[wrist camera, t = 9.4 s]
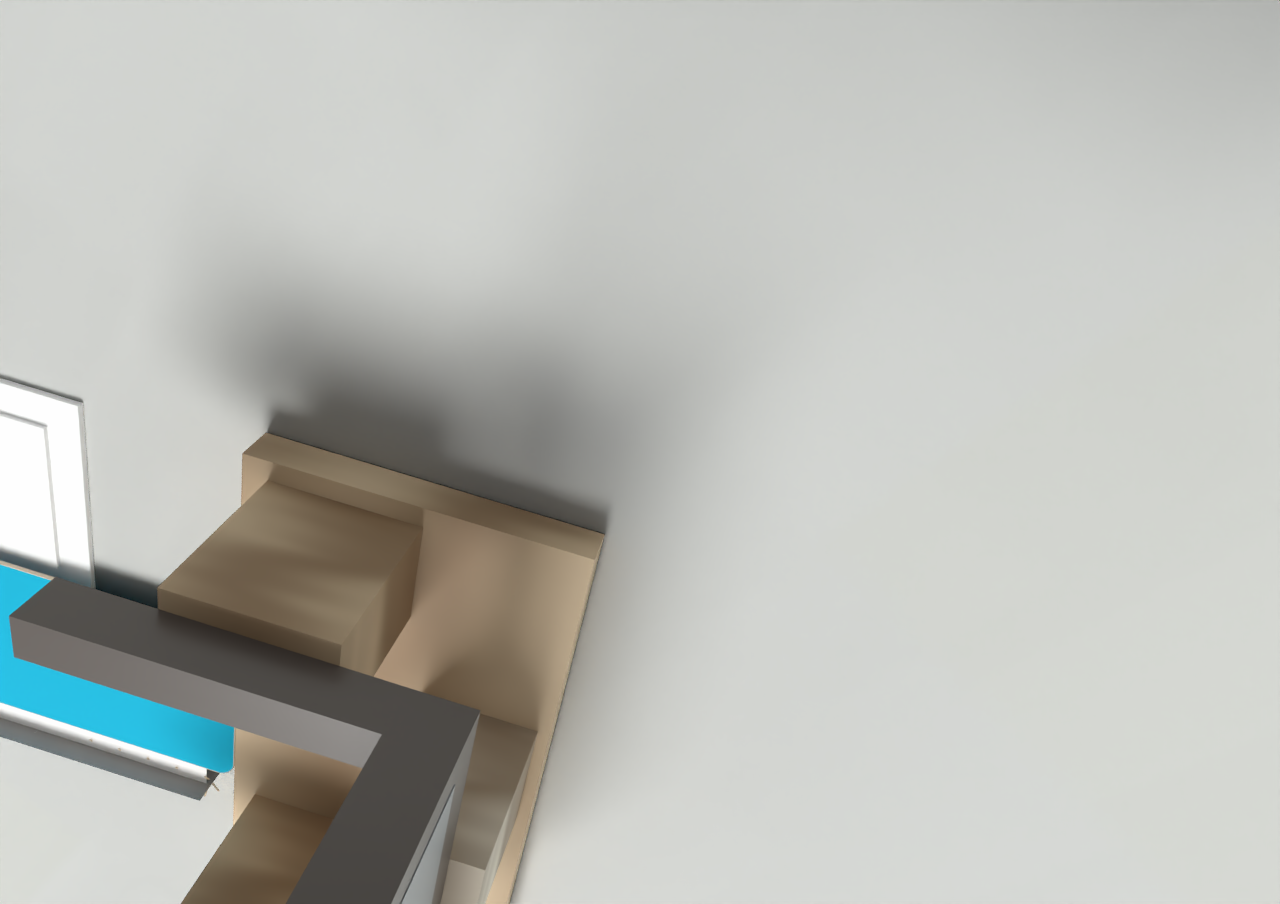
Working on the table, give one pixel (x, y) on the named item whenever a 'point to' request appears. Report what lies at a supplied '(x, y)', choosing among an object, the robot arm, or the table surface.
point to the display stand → (388, 646)
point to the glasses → (284, 729)
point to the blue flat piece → (62, 547)
